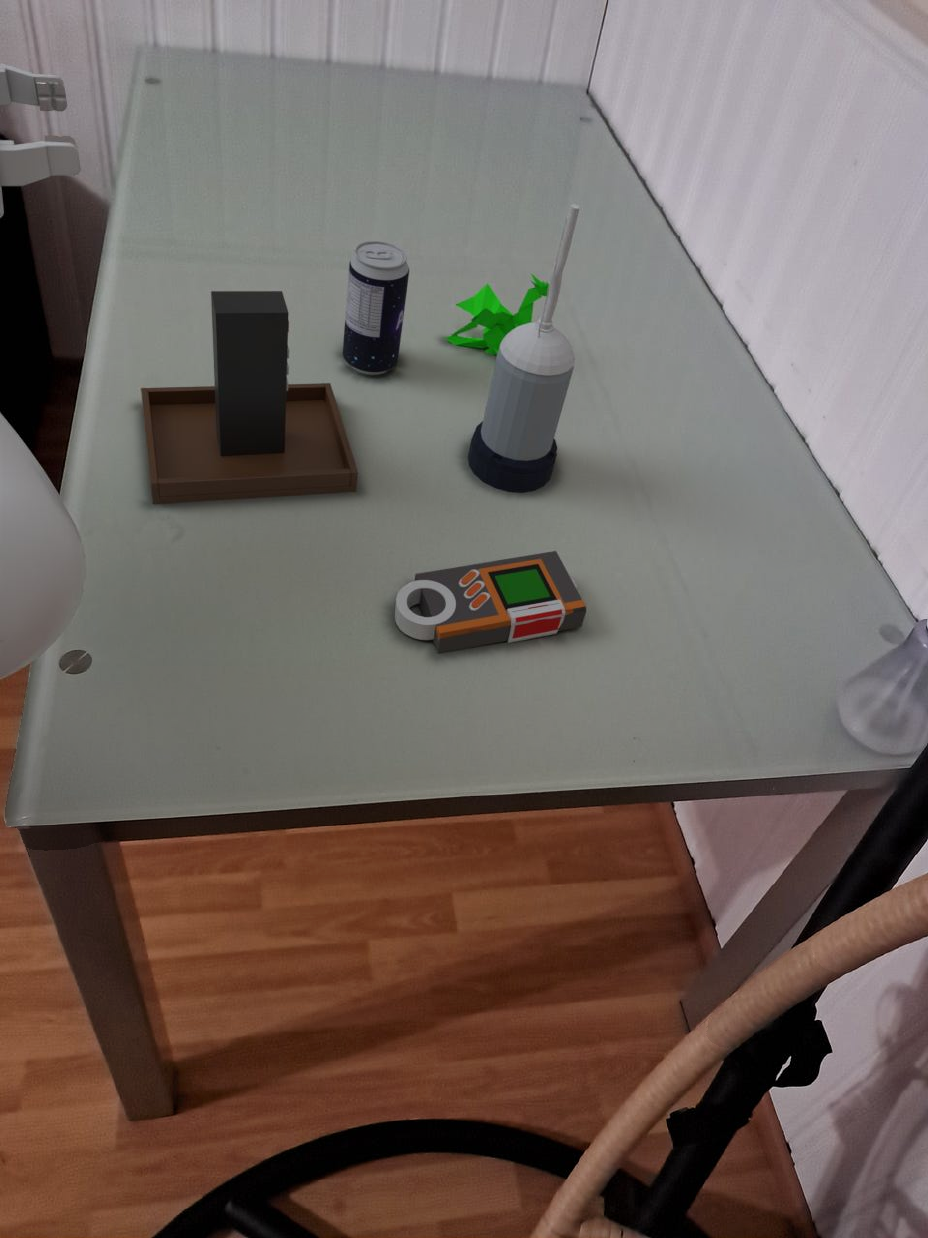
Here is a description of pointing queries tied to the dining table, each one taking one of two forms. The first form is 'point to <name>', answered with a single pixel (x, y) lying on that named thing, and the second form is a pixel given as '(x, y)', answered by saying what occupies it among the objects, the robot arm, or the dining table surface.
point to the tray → (200, 473)
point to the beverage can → (375, 307)
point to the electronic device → (491, 602)
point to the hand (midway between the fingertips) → (71, 122)
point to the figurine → (495, 317)
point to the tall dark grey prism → (250, 370)
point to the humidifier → (526, 396)
